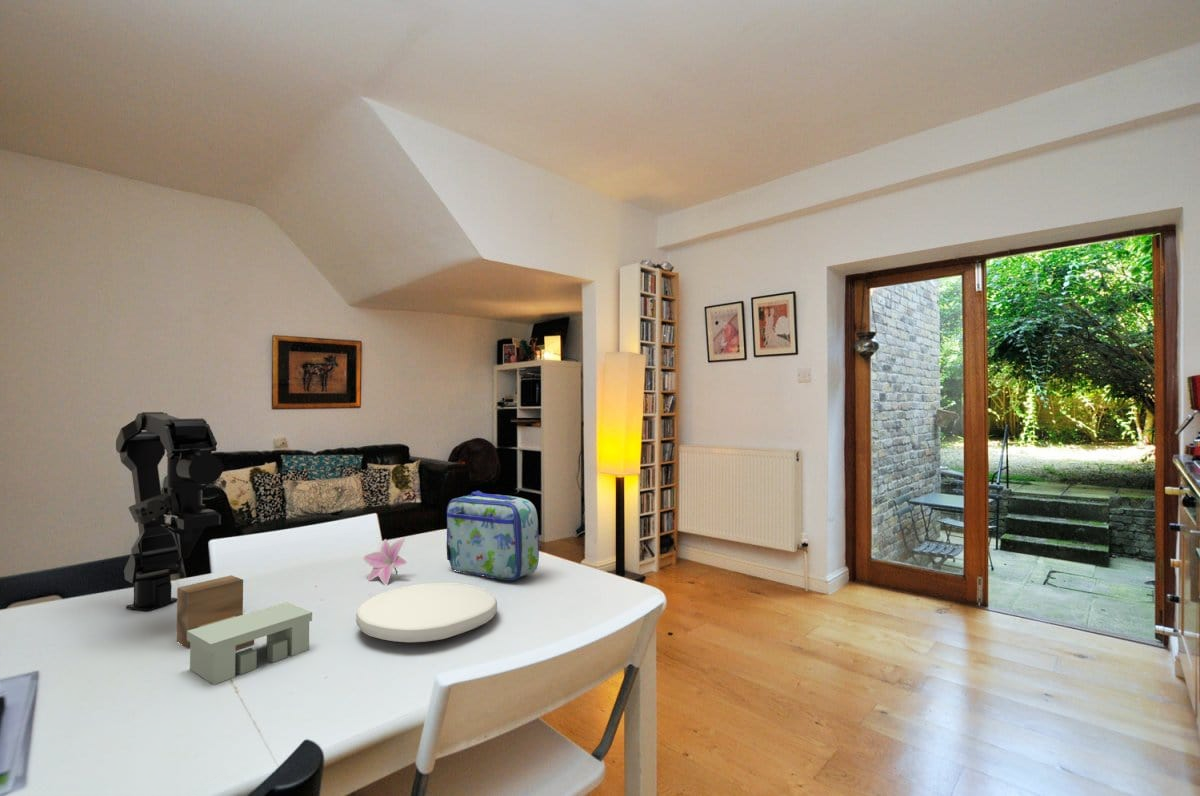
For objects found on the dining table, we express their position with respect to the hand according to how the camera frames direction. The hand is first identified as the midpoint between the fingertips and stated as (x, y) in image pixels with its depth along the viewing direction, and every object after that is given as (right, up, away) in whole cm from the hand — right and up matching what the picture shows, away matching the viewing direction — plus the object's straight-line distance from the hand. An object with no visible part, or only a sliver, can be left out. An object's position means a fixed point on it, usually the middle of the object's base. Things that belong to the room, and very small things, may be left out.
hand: (184, 557), depth 110 cm
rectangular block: (+13, -13, -9) cm, 21 cm away
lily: (+30, -14, +28) cm, 43 cm away
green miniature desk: (+24, -13, -16) cm, 31 cm away
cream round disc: (+49, -14, 0) cm, 51 cm away
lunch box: (+55, -14, +33) cm, 66 cm away
